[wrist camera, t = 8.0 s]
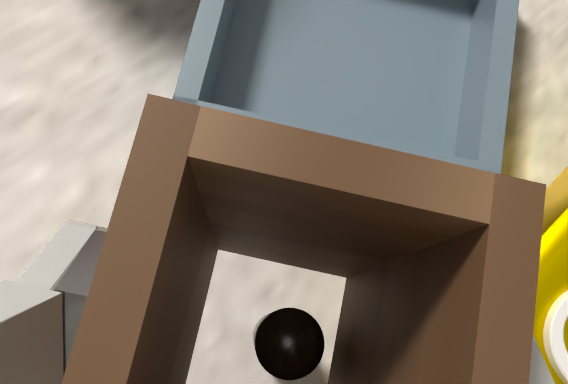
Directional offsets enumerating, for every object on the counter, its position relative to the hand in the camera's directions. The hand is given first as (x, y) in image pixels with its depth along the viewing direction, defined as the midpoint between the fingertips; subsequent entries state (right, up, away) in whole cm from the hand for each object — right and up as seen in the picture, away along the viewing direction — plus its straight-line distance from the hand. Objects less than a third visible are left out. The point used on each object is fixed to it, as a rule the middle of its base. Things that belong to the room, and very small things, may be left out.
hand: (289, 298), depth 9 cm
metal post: (0, -3, +9) cm, 10 cm away
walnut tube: (0, -2, +4) cm, 4 cm away
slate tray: (+2, +7, +12) cm, 14 cm away
